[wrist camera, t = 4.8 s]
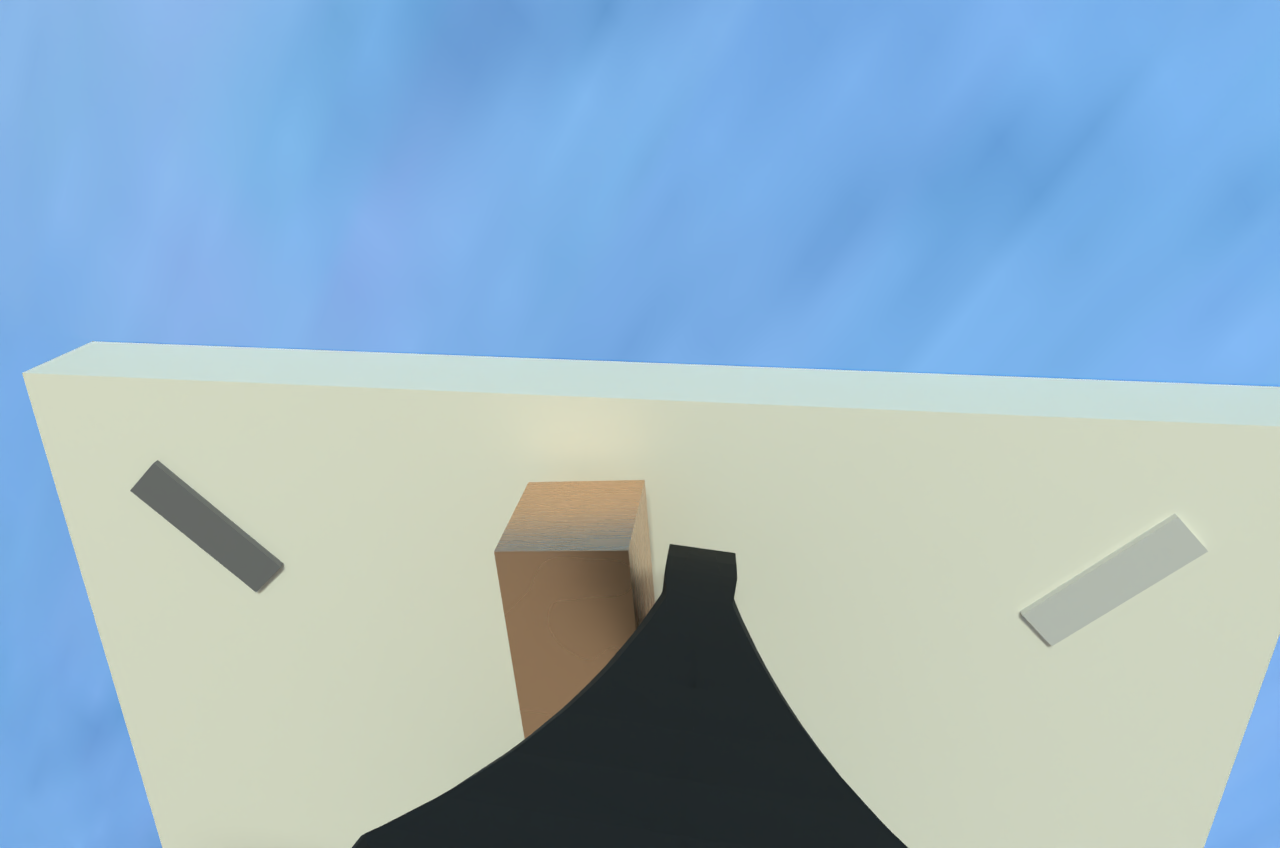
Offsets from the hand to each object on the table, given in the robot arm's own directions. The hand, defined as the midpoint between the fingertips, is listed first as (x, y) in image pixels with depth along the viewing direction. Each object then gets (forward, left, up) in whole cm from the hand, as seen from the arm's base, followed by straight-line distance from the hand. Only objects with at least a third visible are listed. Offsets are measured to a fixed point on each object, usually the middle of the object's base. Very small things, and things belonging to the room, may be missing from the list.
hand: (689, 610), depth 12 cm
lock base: (-6, +1, -3) cm, 7 cm away
